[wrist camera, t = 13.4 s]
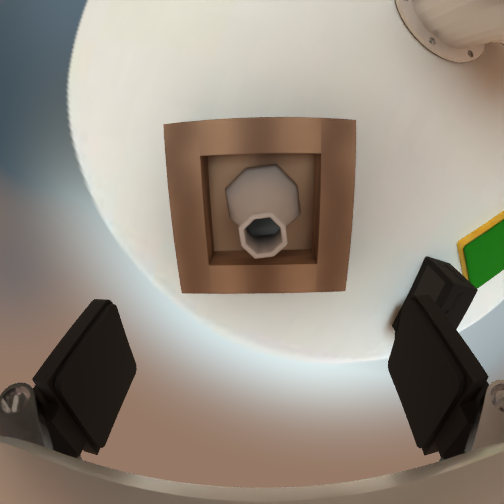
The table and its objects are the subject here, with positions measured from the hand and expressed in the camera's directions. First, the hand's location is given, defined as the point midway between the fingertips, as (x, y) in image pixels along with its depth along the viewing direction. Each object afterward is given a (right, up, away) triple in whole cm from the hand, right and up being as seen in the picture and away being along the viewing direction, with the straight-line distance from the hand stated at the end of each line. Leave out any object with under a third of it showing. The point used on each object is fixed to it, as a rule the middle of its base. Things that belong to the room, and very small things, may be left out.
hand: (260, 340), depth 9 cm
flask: (+1, +8, +20) cm, 22 cm away
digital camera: (+21, -2, +25) cm, 32 cm away
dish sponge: (+32, +5, +22) cm, 39 cm away
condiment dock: (+1, +8, +21) cm, 22 cm away
